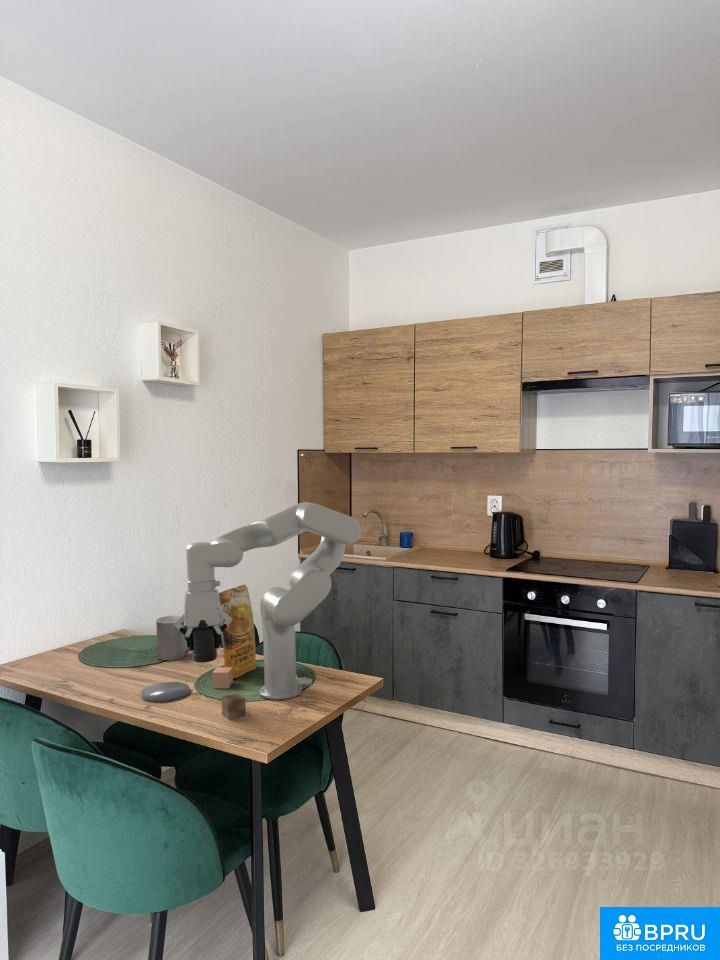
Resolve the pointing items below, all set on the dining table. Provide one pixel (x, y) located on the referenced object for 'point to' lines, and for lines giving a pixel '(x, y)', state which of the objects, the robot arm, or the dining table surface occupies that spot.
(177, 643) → the pillar candle
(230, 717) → the walnut block
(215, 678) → the terracotta block
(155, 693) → the charcoal plate
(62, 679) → the dining table surface
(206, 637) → the supplement bottle
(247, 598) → the pancake mix bag
